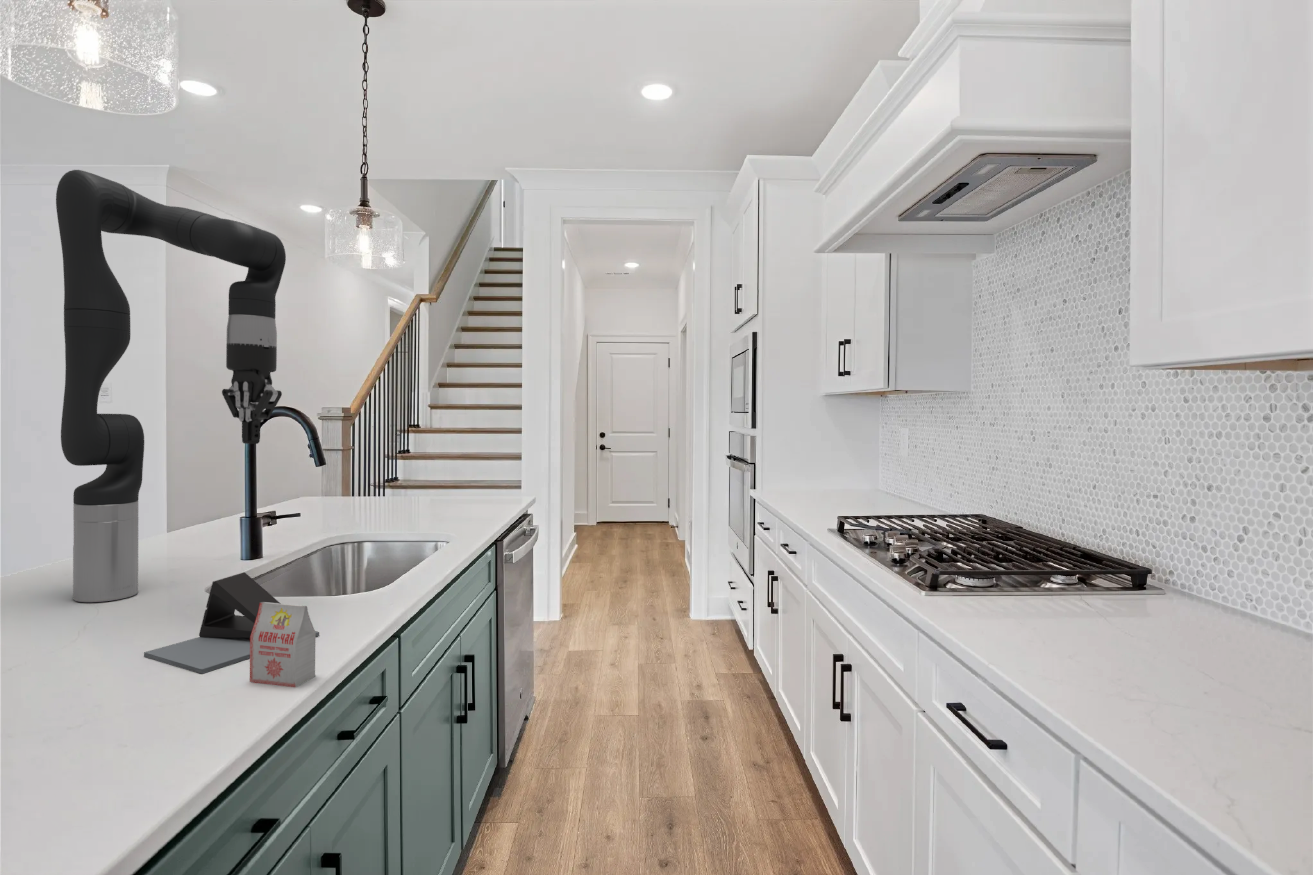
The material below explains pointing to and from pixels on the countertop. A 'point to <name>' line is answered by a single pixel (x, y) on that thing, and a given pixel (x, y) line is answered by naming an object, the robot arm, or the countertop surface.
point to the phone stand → (233, 607)
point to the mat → (204, 653)
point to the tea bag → (282, 645)
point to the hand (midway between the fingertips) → (251, 443)
